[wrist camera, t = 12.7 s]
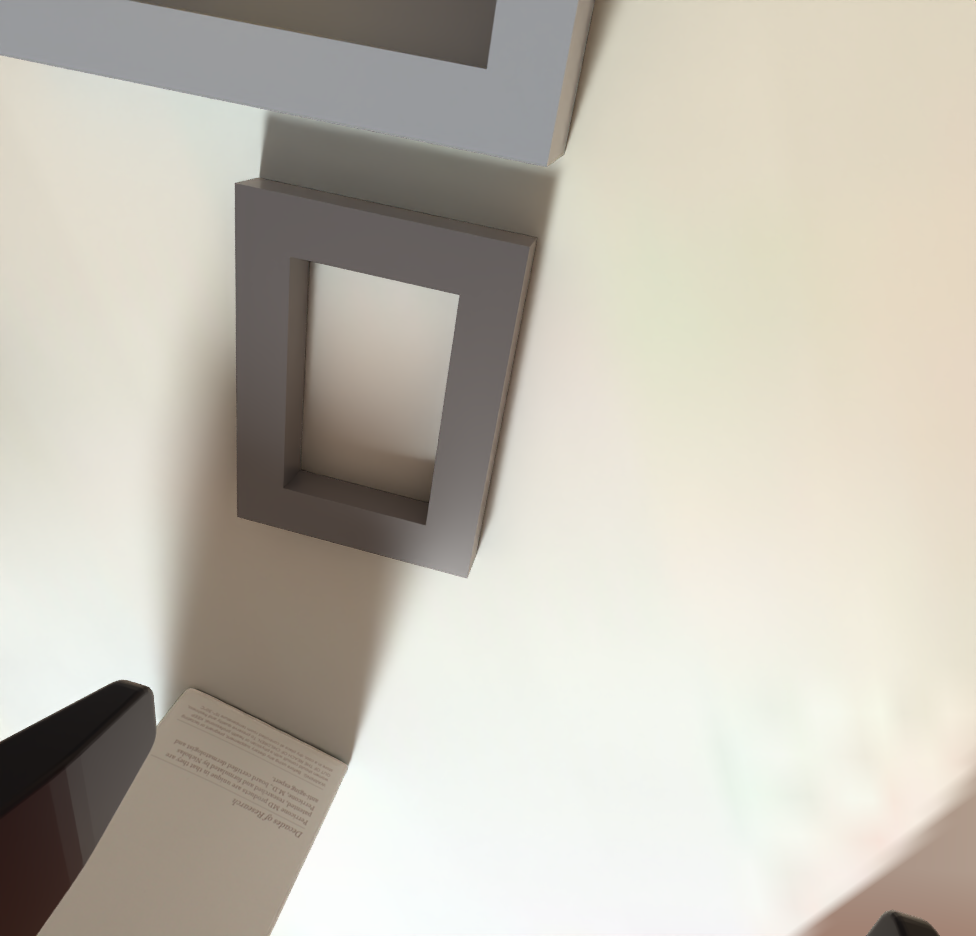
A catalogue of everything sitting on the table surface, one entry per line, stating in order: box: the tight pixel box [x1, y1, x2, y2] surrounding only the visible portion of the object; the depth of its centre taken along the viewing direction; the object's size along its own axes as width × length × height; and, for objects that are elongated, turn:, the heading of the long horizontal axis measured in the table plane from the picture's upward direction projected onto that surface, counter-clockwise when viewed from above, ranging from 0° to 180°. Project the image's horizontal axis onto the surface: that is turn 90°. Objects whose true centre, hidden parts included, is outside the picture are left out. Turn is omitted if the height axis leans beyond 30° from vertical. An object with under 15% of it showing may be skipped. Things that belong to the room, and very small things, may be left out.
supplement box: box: [37, 688, 348, 936], centre depth 25 cm, size 7×7×13 cm
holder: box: [235, 178, 537, 578], centre depth 21 cm, size 8×10×1 cm
